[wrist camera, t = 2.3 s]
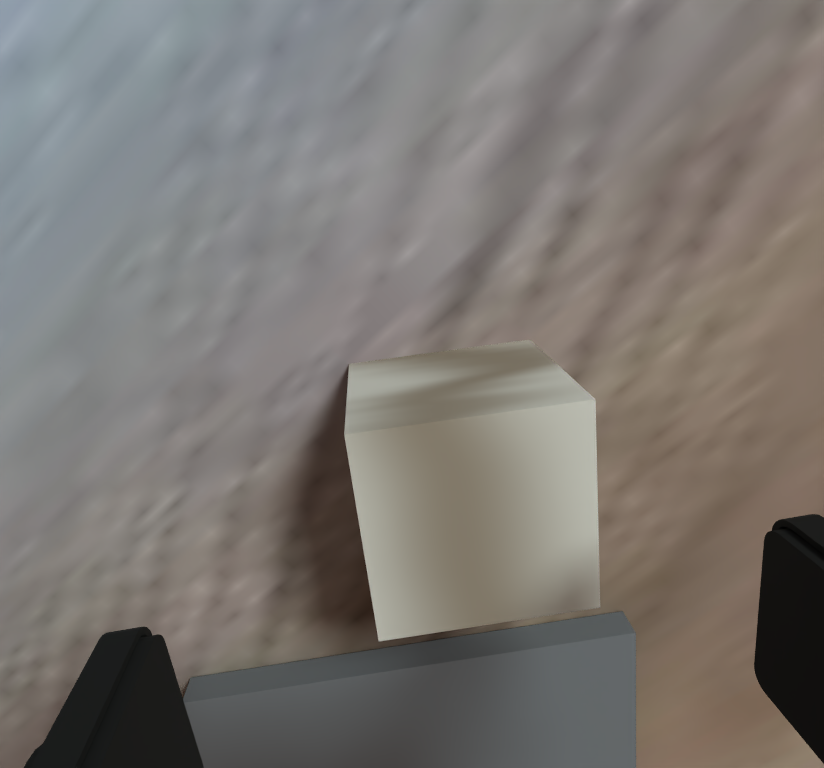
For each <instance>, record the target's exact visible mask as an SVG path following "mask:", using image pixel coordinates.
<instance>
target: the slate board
mask: <svg viewBox="0 0 824 768" xmlns="http://www.w3.org/2000/svg"><path fill="white" fill-rule="evenodd" d="M183 701H184V704H185V708H186V711H187V714H188V717H189V720H190V724H191V727H192V730H193V733H194V737H195V740H196V743H197V746H198V749H199V753H200V756H201V759H202V762H203V766H204V768H636V633H635V631H634V629H633V628H632V626H631V624H630V623H629V621H628V619H627V618H626V616H625V615H624V613H623V611H621V612H615V613H608V614H602V615H595V616H589V617H582V618H576V619H569V620H563V621H556V622H550V623H543V624H537V625H530V626H524V627H517V628H511V629H504V630H498V631H491V632H485V633H478V634H472V635H465V636H459V637H452V638H446V639H440V640H433V641H427V642H420V643H414V644H407V645H401V646H394V647H388V648H381V649H375V650H368V651H362V652H355V653H349V654H342V655H336V656H329V657H323V658H316V659H310V660H303V661H297V662H290V663H284V664H277V665H271V666H264V667H258V668H251V669H245V670H238V671H232V672H225V673H219V674H212V675H206V676H199V677H193V678H190V681H189V684H188V686H187V689H186V692H185V695H184V698H183Z"/></svg>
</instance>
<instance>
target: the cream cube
mask: <svg viewBox="0 0 824 768" xmlns="http://www.w3.org/2000/svg"><path fill="white" fill-rule="evenodd" d="M344 436H345V442H346V448H347V454H348V460H349V466H350V472H351V478H352V484H353V490H354V496H355V502H356V508H357V514H358V520H359V526H360V532H361V538H362V544H363V550H364V556H365V562H366V568H367V574H368V580H369V586H370V592H371V598H372V604H373V610H374V616H375V622H376V628H377V634H378V640H379V641H385V640H392V639H398V638H405V637H411V636H418V635H424V634H431V633H437V632H444V631H450V630H457V629H464V628H470V627H477V626H483V625H490V624H496V623H503V622H509V621H516V620H522V619H529V618H535V617H542V616H548V615H555V614H561V613H568V612H574V611H581V610H587V609H594V608H600V581H599V537H598V492H597V448H596V403H595V399H594V398H593V397H592V396H591V395H590V394H589V393H588V392H587V391H586V390H585V389H583V388H582V387H581V386H580V385H579V384H578V383H577V382H576V381H575V380H574V379H573V378H571V377H570V376H569V375H568V374H567V373H566V372H565V371H564V370H563V369H562V368H561V367H559V366H558V365H557V364H556V363H555V362H554V361H553V360H552V359H551V358H550V357H548V356H547V355H546V354H545V353H544V352H543V351H542V350H541V349H540V348H539V347H538V346H536V345H535V344H534V343H533V342H532V341H531V340H523V341H516V342H508V343H501V344H494V345H486V346H479V347H471V348H464V349H457V350H449V351H442V352H434V353H427V354H420V355H412V356H405V357H398V358H390V359H383V360H375V361H368V362H361V363H353V364H349V373H348V387H347V401H346V416H345V430H344Z"/></svg>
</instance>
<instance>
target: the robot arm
mask: <svg viewBox="0 0 824 768" xmlns="http://www.w3.org/2000/svg"><path fill="white" fill-rule="evenodd" d="M754 669H755V674H756V677H757V680H758V682H759V684H760V686H761V688H762V689H763V691H764V692H765V693H766V695H767V696H768V697H769V698H770V699H771V701H772V702H773V703H774V704H775V706H776V707H777V708H778V709H779V710H780V712H781V713H782V714H783V715H784V716H785V718H786V719H787V720H788V721H789V722H790V724H791V725H792V726H793V727H794V728H795V730H796V731H797V732H798V733H799V734H800V736H801V737H802V738H803V739H804V740H805V742H806V743H807V744H808V745H809V747H810V748H811V749H812V750H813V751H814V753H815V754H816V755H817V756H818V757H819V759H820V760H821V761H822V762H823V763H824V517H822V516H820V515H815V514H811V515H805V516H799V517H793V518H787V519H781V520H778V521H776V522H775V524H774V525H773V528H772V531H770V532H767V534H766V535H765V539H764V549H763V561H762V574H761V587H760V599H759V612H758V624H757V637H756V649H755V662H754ZM24 768H204V766H203V762H202V759H201V756H200V753H199V749H198V746H197V743H196V740H195V737H194V733H193V730H192V727H191V724H190V720H189V717H188V714H187V711H186V708H185V704H184V701H183V698H182V695H181V691H180V688H179V685H178V682H177V679H176V675H175V672H174V669H173V666H172V662H171V659H170V656H169V653H168V649H167V646H166V643H165V640H164V638H163V637H162V636H161V635H153V636H152V633H151V631H150V630H149V629H148V628H147V627H138V628H132V629H126V630H120V631H114V632H109V633H106V634H104V635H102V637H101V638H100V639H99V641H98V643H97V645H96V646H95V648H94V650H93V652H92V654H91V656H90V657H89V659H88V661H87V663H86V665H85V667H84V669H83V670H82V672H81V674H80V676H79V678H78V680H77V682H76V683H75V685H74V687H73V689H72V691H71V693H70V695H69V696H68V698H67V700H66V702H65V704H64V706H63V708H62V709H61V711H60V713H59V715H58V717H57V719H56V721H55V722H54V724H53V726H52V728H51V730H50V732H49V733H48V735H47V737H46V739H45V741H44V743H43V744H42V745H41V746H40V747H38V748H37V749H36V750H35V751H34V753H33V754H32V755H31V757H30V758H29V760H28V761H27V763H26V765H25V767H24Z"/></svg>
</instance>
